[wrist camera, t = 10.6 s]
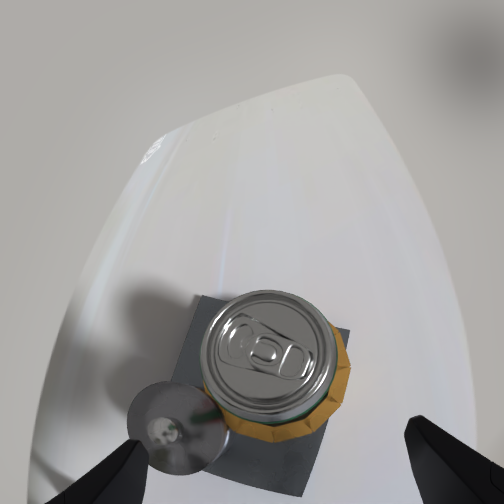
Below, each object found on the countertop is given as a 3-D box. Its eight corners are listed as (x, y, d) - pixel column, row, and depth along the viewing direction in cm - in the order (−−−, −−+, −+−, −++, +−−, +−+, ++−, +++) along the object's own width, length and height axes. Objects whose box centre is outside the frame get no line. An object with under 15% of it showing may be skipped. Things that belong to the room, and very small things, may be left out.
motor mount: (300, 493, 15) (306, 532, 9) (154, 445, 18) (102, 456, 12) (347, 333, 21) (373, 301, 15) (205, 299, 24) (174, 257, 18)
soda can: (258, 333, 21) (228, 260, 11) (321, 356, 20) (362, 305, 9) (230, 394, 19) (165, 386, 9) (295, 419, 18) (308, 448, 7)
